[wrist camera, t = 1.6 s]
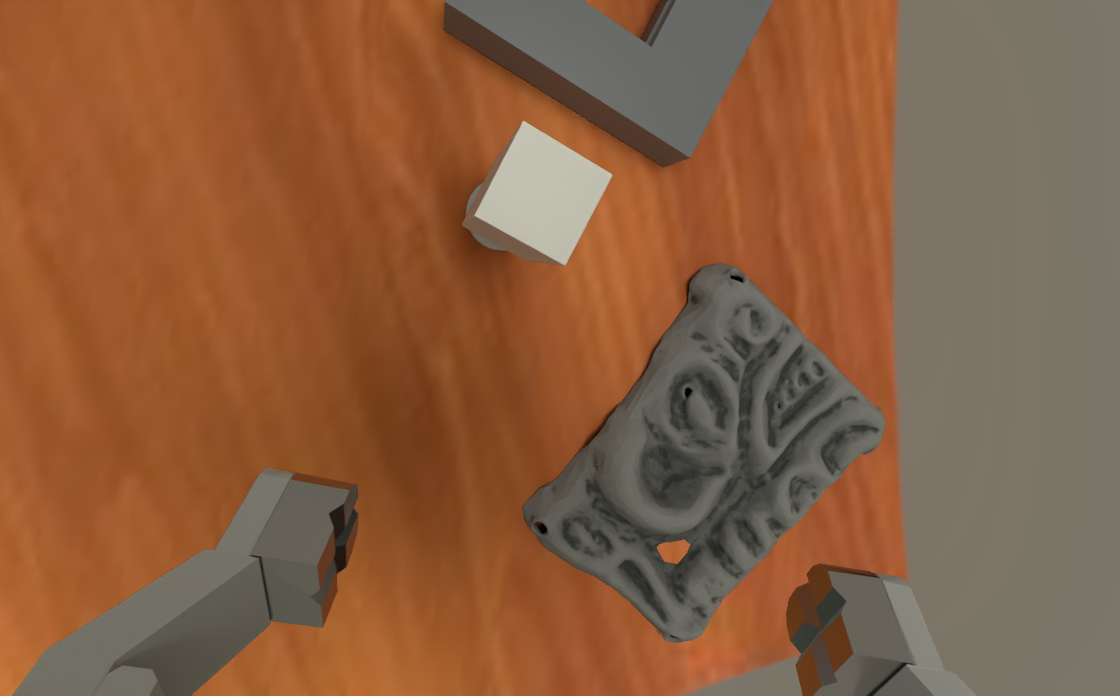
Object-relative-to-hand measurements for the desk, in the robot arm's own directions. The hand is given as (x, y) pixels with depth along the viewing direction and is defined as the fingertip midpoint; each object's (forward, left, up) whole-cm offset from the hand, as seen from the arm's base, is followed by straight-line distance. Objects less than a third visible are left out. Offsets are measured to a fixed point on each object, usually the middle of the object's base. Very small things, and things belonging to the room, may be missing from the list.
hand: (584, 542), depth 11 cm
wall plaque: (+11, +15, -31) cm, 36 cm away
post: (-7, +3, -31) cm, 31 cm away
